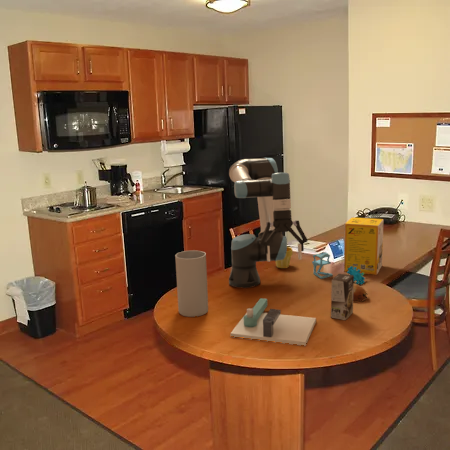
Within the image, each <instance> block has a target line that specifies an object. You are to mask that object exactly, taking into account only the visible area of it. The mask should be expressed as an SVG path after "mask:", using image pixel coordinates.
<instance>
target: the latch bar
mask: <svg viewBox="0 0 450 450" xmlns="http://www.w3.org/2000/svg"><path fill="white" fill-rule="evenodd" d="M267 307H268V298H259V300H258V301H257V302H256V303H255V305H254V306H252V308H250V307H249V308H246V313H247V315H245V314H244V315H245V316H244V315H243V317H244V326H247V327H254V326H256V325H257V320H258V318H259V317H260V316H261V314H262V313H264V311H265V309H266V308H267Z"/></svg>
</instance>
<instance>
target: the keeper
mask: <svg viewBox="0 0 450 450" xmlns="http://www.w3.org/2000/svg"><path fill="white" fill-rule="evenodd" d="M281 311H282V310H281V309H278V308H270V309H269V310H268V312H266V313H267V315H266V316H265V317H264V319H263V337H272V336H273V325H274V323H275V322H276V320H277V319H278V317H279V315H280V314H281Z"/></svg>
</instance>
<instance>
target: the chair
mask: <svg viewBox="0 0 450 450" xmlns="http://www.w3.org/2000/svg"><path fill="white" fill-rule="evenodd" d="M312 257H313V261H311V264H312V266H313V275H315V276H316V277H317V278H319V279H320V280H323V279H326V278H329V277H333V273H329V272H324V271H321V270H322V268H323V267H324V266H326V265H330V264H332V262H331V261H330V258H331V255H330V254H329V253H328V252H320V254H319V253H316V254H312ZM316 257H317V258H318V260H317V259H316ZM324 258H326V259H327V260H324ZM317 266H319V268H318V270H317ZM321 275H322V276H321Z"/></svg>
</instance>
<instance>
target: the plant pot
mask: <svg viewBox="0 0 450 450" xmlns="http://www.w3.org/2000/svg"><path fill="white" fill-rule="evenodd" d="M292 256H293V248H292V247H290V246H287V251H286V256H285V258H284V259H283V260H277V261H274V262H275V266H276V268H279V269H287V268H289V267H290V262H291V257H292Z"/></svg>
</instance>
